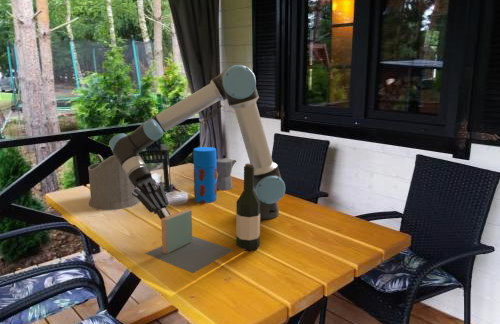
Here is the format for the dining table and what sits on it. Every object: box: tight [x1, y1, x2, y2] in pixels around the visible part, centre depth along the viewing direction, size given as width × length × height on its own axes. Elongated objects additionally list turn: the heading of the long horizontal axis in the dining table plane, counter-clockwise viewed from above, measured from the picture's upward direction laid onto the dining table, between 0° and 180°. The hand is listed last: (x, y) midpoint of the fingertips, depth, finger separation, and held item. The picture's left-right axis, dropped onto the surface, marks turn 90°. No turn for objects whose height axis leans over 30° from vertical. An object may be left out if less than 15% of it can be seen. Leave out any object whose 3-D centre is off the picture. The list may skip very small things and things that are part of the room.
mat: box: [144, 235, 234, 274], centre depth 133 cm, size 22×20×1 cm
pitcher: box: [88, 153, 141, 211], centre depth 185 cm, size 23×32×25 cm
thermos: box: [193, 146, 218, 204], centre depth 187 cm, size 11×11×25 cm
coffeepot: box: [216, 154, 237, 191], centre depth 208 cm, size 15×9×18 cm, turn 103°
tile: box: [160, 208, 193, 254], centre depth 135 cm, size 2×12×12 cm, turn 144°
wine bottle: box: [235, 162, 261, 252], centre depth 136 cm, size 8×8×30 cm
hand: (170, 225), depth 136 cm, fingers closed
